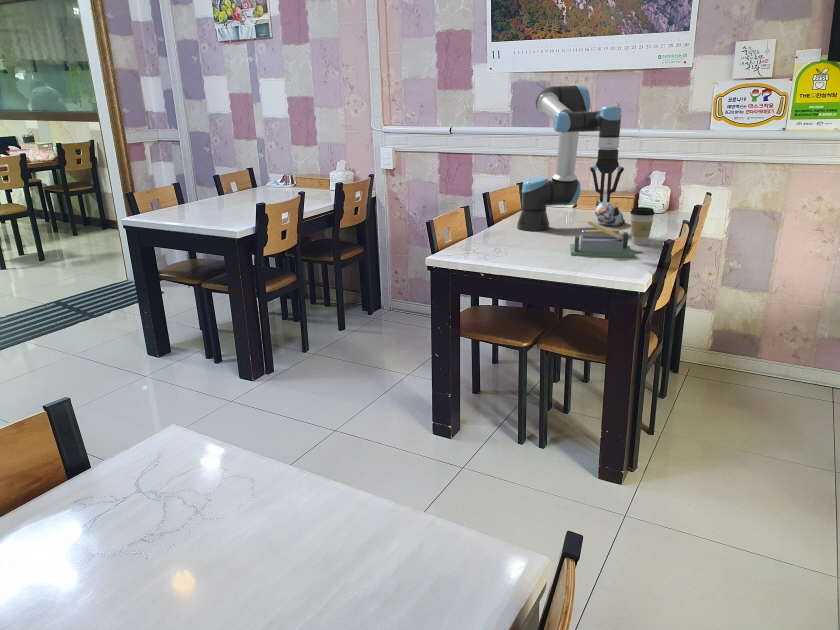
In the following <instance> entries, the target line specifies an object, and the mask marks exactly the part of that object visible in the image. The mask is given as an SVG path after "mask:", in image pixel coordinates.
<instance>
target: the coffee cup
mask: <svg viewBox="0 0 840 630" xmlns="http://www.w3.org/2000/svg"><path fill="white" fill-rule="evenodd" d="M629 213H630V215H631V219H630V230H631V231H630V233H631V244H632V245H634V246H647V245H648V243H649V242H648V241H649V237H650V235H651V230H652V225H653V220H654V215H655V213H656V212H655V210H654V208H653V207H647V206H646V207H645V206H635V207H633V208H632V209H631V210H630V212H629Z"/></svg>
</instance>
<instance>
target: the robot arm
mask: <svg viewBox="0 0 840 630" xmlns="http://www.w3.org/2000/svg"><path fill="white" fill-rule="evenodd" d="M589 92H590V91H589V89H588V88H587V87H586V86H583V85H557V86H556V85H554V86H548V87H546V88H544V89H543V90H541V91H540V92H539V93H538V95H537V96H536V98H535V108H536V110H537V111H538V112H539V114H540V115H543V116H547V117H548V118H549V119H550V120H551V121H552V126H553V127H552V128H553V130H554V132H556V133H559V136H558V143H557V144H558V147H557V158H556V167H555V168H556V169H555V173H553V174H552V176H551V180H549V179H548V178H547V177H544V176H543V177H542V176H541V177H533V178H529V179H526V180H524V181H523V183H522V188H521V212H520V215H519V218H518V220H517V229H518V230H520V231H521V230H522V231H526V232H527V231H528V232H530V231H531V232H538V231H547V230H550V221H549V218H548V217H549V216H548V214H547V207H548V206H551V207H552V206H571V205H575V204H576V203H577V202H578V200H579V199H580V194H581V182H580V180H578V177H577V175H576V174H575V171H576V161H577V155H578V153H577V152H578V144H579V143H578V142H579V135H580V133H588V132H599V133H598V150H597V159H596V163H595V165H592V166H591V167H590V168H589V170H590V172H591V174H592V177H593V178H592V179H593V184H594V189H595V192H596V193H598V194H599V201H600V202H602V211H606V206H607V202H609V203H610V202H611V194H613V193H615V192H616V191H617V188H618V184H619V182H620V178H621V175H622V173H623V172H625V171H624V170H625V168H624V167H623V166H622V165H620V164H619V147H620V145H619V144H620V134H621V123H622V122H621V121H622V108H621V106H614V105H613V106H612V105H611V106H601V109H600V110H596V111H590V109H591V96H590V93H589ZM597 170H598V171H599V172H600V173H601V174H600V188H599V183H598V178H597V173H596V172H597ZM615 171H617V173H616V176H615V178H614V181H613V185H612V177H613V173H614V172H615ZM606 174H607V184H606V185H607V187H606V193H604V190H605V178H606V177H605V176H606Z"/></svg>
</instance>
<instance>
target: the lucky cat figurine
mask: <svg viewBox="0 0 840 630" xmlns="http://www.w3.org/2000/svg"><path fill="white" fill-rule="evenodd" d="M594 212H595V213H594V215H595V216H596V217H597V223H598V225H600V226H601V225H605V226H615V227H622V225H623V226H624V225H626V219H624V215H623V212H622V211H621V210H619V206H618V205H616V206H613V204H612V203H610V202H607V206H606V211H602V202H600V200H596V204H595V211H594Z"/></svg>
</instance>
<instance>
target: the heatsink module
mask: <svg viewBox="0 0 840 630" xmlns="http://www.w3.org/2000/svg"><path fill="white" fill-rule="evenodd" d="M617 234H618V235H622V237H623V240H622V241H620V240H619V239H618V238H616V237H614V236H612V235H609V234H607V233H604V234H592V233H583V235H582V232H581V233H580V235H575V236H574V243H570V244H569V245H570V246H569V248H570V256H581V257H585V256H586V257H616V258H618V257H619V258H633V257H634V252H633V250H632V249H631V245H628V243H629V242H628V241H629V233H628V232H627V231H625V232H623V234H620V233H617Z"/></svg>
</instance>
